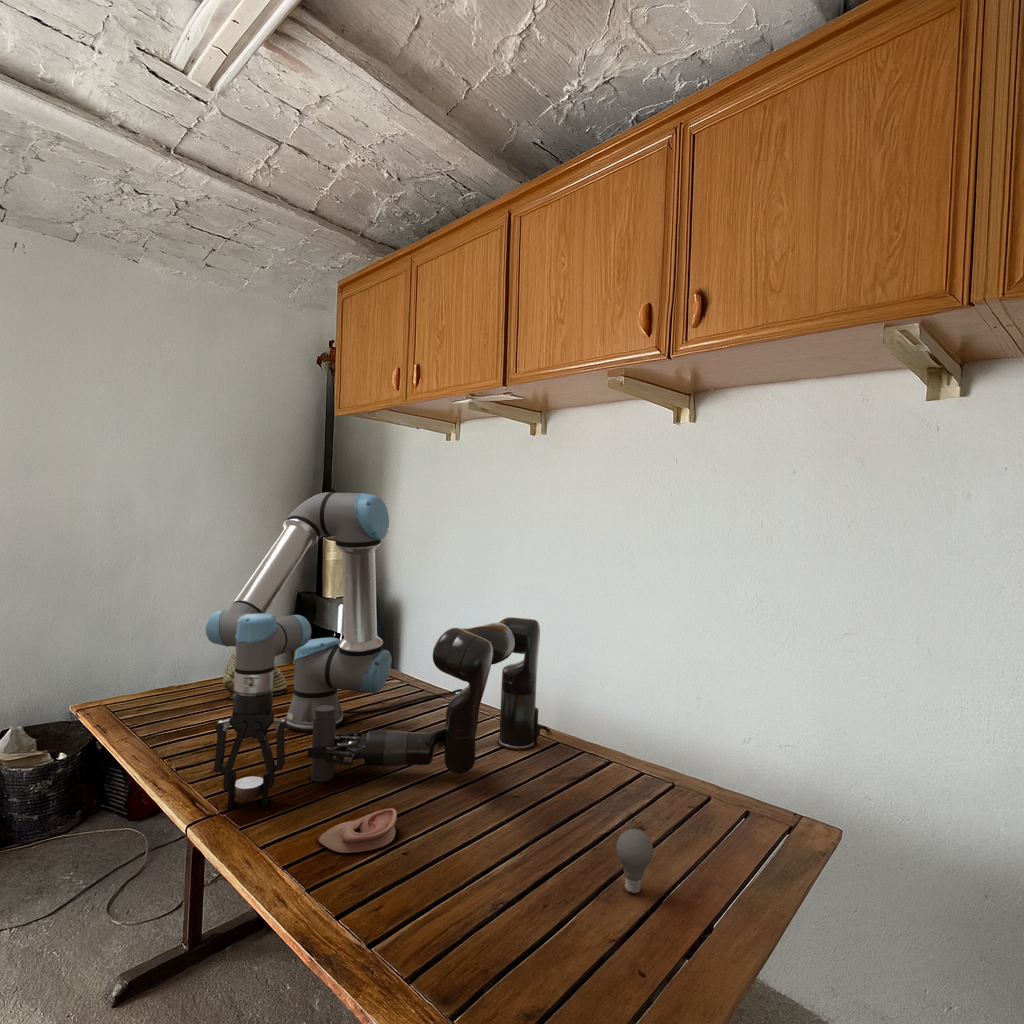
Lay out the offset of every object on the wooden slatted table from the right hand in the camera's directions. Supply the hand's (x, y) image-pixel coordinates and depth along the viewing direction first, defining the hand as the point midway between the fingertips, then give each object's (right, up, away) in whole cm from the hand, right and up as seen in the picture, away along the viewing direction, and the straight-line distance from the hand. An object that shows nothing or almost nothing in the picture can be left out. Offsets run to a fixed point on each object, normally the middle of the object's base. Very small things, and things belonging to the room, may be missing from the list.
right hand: (311, 747), depth 143 cm
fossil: (-35, -4, +55) cm, 66 cm away
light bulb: (+65, -10, -37) cm, 76 cm away
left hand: (-9, -7, -13) cm, 17 cm away
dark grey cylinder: (+2, -7, 0) cm, 7 cm away
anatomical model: (+16, -8, -24) cm, 30 cm away
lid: (-8, -3, -14) cm, 16 cm away
